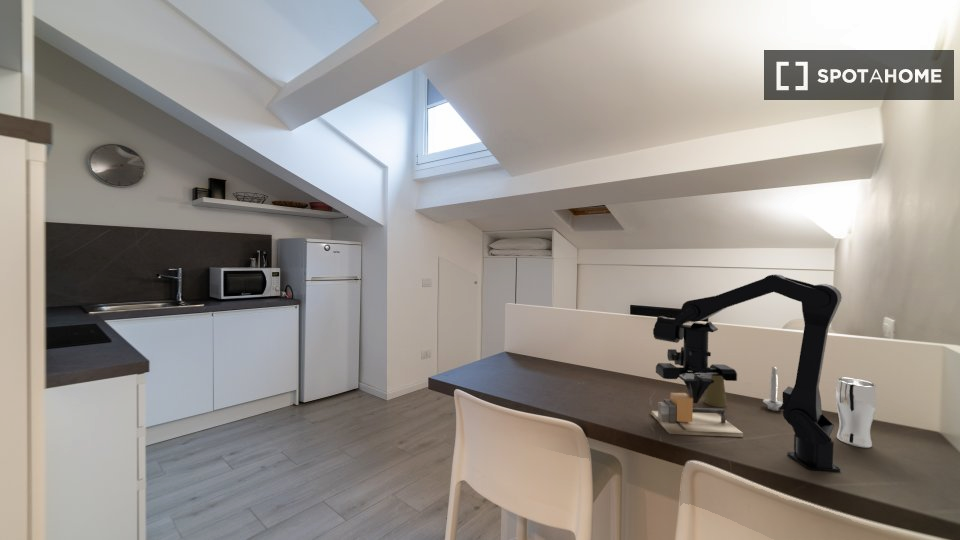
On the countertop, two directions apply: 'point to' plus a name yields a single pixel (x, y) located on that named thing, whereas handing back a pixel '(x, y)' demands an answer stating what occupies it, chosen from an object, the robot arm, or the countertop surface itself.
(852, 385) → the silver metal tumbler
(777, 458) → the countertop surface
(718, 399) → the olive green shaker
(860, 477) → the countertop surface
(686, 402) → the orange block
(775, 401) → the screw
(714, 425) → the board
